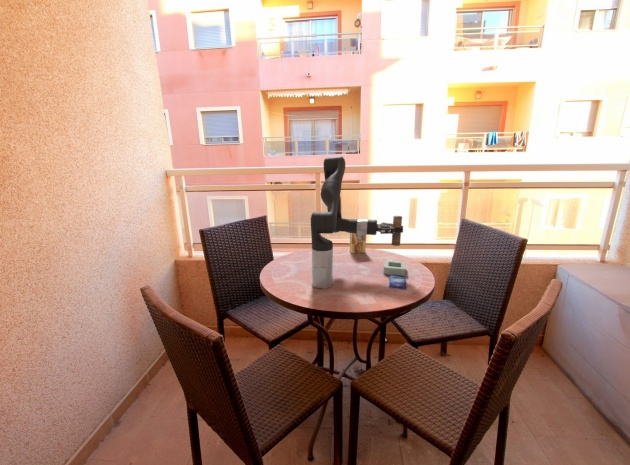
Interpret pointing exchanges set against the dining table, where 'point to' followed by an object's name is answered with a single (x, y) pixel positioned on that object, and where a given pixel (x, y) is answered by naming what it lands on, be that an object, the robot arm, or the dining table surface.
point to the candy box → (357, 243)
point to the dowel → (396, 236)
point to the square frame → (394, 268)
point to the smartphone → (397, 282)
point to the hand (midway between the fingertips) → (402, 229)
